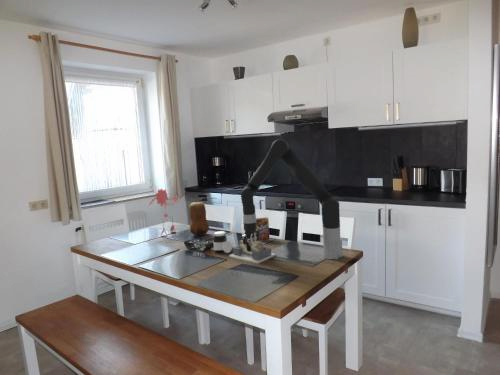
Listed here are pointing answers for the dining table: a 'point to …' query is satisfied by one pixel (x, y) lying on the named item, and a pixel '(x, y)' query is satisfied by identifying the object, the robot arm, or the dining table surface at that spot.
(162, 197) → the red flower in vase
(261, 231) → the candy box
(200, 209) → the butternut squash
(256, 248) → the slat
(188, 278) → the dining table surface
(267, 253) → the cradle
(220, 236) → the spread jar
